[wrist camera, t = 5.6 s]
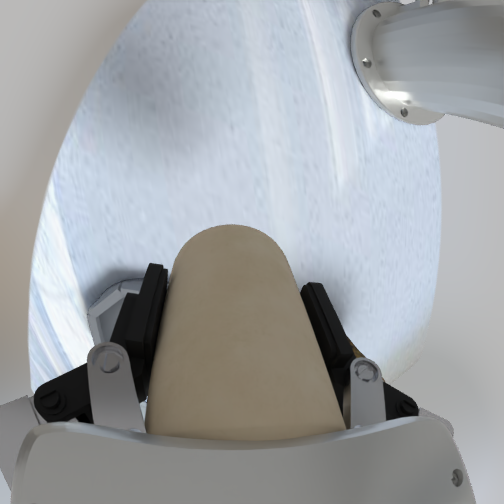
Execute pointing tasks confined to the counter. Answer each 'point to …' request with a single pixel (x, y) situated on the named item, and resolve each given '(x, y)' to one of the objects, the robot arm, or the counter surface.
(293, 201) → the counter surface
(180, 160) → the counter surface
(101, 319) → the slate dish
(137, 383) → the robot arm
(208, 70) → the counter surface
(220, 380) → the candle
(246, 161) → the counter surface
